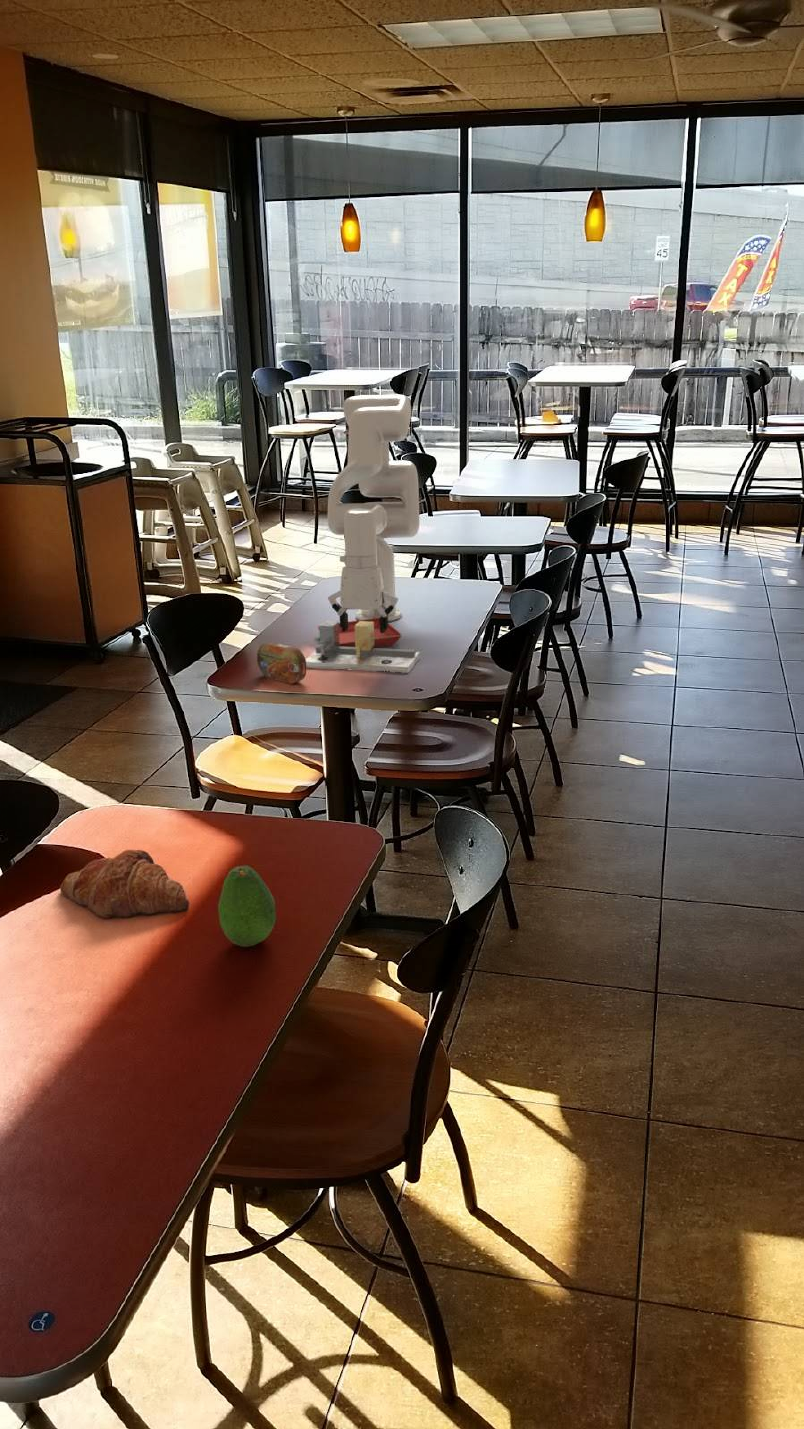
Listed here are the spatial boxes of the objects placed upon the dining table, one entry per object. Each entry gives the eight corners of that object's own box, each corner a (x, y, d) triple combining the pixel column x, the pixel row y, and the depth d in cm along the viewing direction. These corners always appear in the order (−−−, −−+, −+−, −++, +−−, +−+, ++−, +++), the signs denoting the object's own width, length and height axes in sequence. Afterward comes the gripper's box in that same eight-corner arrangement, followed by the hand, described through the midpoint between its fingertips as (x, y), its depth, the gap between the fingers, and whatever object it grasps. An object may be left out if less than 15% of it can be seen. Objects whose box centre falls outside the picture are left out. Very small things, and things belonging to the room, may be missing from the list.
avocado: (211, 952, 158) (203, 875, 154) (238, 924, 165) (231, 849, 160) (262, 962, 155) (256, 884, 151) (288, 933, 162) (283, 858, 158)
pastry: (74, 939, 163) (67, 889, 160) (59, 891, 176) (52, 845, 173) (191, 912, 169) (186, 864, 166) (168, 868, 182) (163, 823, 179)
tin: (257, 675, 273) (254, 641, 270) (267, 671, 275) (264, 638, 272) (299, 687, 263) (297, 652, 260) (309, 684, 265) (307, 649, 262)
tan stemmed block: (360, 648, 283) (359, 621, 281) (374, 649, 282) (373, 621, 280) (350, 658, 275) (349, 630, 273) (365, 659, 275) (364, 631, 272)
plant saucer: (335, 656, 286) (334, 643, 285) (316, 637, 302) (315, 625, 301) (403, 647, 291) (403, 634, 290) (381, 629, 307) (381, 617, 306)
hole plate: (319, 653, 287) (317, 619, 284) (419, 657, 281) (418, 623, 278) (303, 667, 276) (301, 633, 273) (408, 673, 270) (407, 637, 267)
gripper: (322, 563, 272) (325, 633, 277) (392, 565, 267) (394, 636, 273) (331, 557, 278) (334, 625, 284) (400, 559, 274) (402, 628, 280)
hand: (364, 631), depth 278 cm, fingers open, 9 cm apart
